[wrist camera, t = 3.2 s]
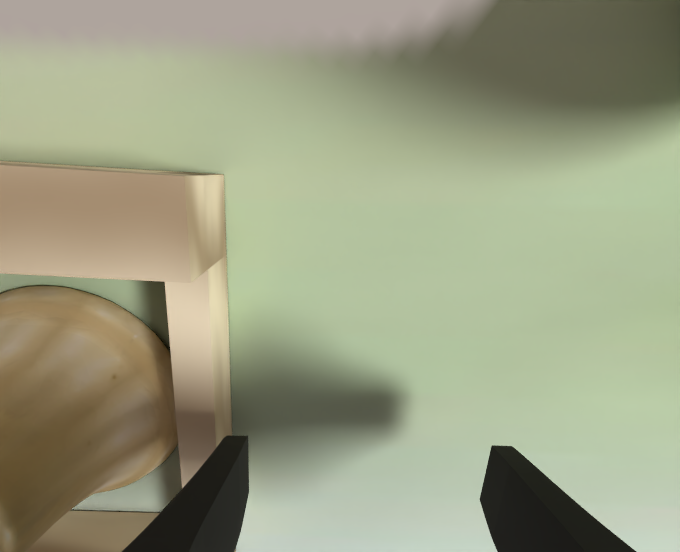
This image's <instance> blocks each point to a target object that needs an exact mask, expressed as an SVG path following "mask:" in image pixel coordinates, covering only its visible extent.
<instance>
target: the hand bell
mask: <svg viewBox="0 0 680 552" xmlns="http://www.w3.org/2000/svg"><path fill="white" fill-rule="evenodd" d="M177 444H178V435H177V423H176V411H175V399H174V387H173V375H172V364H171V354H170V352H169V351H168V349H167V348H166V346H165V345H164V344H163V342H162V341H161V340H160V339H159V337H158V336H157V335H156V334H155V333H154V332H153V331H152V330H151V329H149V327H148V326H147V325H146V324H145V323H144V322H142V321H141V320H140V319H138V318H137V317H136V316H134V315H133V314H131V313H130V312H128V311H126V310H125V309H123V308H122V307H120V306H119V305H117V304H115V303H113V302H111V301H108V300H106V299H104V298H101V297H99V296H96V295H93V294H90V293H87V292H84V291H80V290H76V289H72V288H66V287H58V286H32V287H24V288H18V289H14V290H10V291H7V292H4V293H2V294H0V552H26V551H27V550H28V549H29V548H30V547H31V546H32V545H33V544H34V543H35V542H36V541H37V540H38V539H39V538H40V537H41V536H42V535H43V534H44V533H45V532H46V531H47V530H48V529H49V528H50V527H51V526H52V525H53V524H54V523H56V522H57V521H58V520H59V519H60V518H61V517H63V516H64V515H65V514H66V513H67V512H68V511H70V510H71V509H72V508H73V507H75V506H76V505H77V504H78V503H80V502H81V501H83V500H84V499H86V498H87V497H89V496H90V495H93V494H95V493H100V492H105V491H110V490H114V489H117V488H121V487H123V486H126V485H129V484H131V483H133V482H135V481H137V480H139V479H140V478H142V477H144V476H145V475H147V474H148V473H150V472H152V471H153V470H154V469H156V468H157V467H158V466H159V465H161V464H162V463H163V462H164V461H165V460H166V459H167V458H168V456H169V455H170V454H171V453H172V452H173V450H174V449H175V447H176V446H177Z"/></svg>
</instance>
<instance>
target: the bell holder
mask: <svg viewBox="0 0 680 552" xmlns="http://www.w3.org/2000/svg"><path fill="white" fill-rule="evenodd" d="M0 273H4V274H24V275H43V276H63V277H83V278H102V279H122V280H142V281H162V282H165V292H166V304H167V316H168V328H169V340H170V352H171V364H172V375H173V387H174V399H175V411H176V423H177V435H178V447H179V459H180V470H181V482H182V488H183V487H184V486H185V485H186V484H187V483H188V481H189V480H190V479H191V478H192V477H193V476H194V475H195V473H196V472H197V471H198V470H199V469H200V467H201V466H202V465H203V464H204V462H205V461H206V460H207V459H208V457H209V456H210V455H211V454H212V452H213V451H214V450H215V449H216V447H217V446H218V445H219V443H220V442H221V441H222V439H223V438H224V437H226V436H227V435H231V436H232V414H231V382H230V351H229V319H228V288H227V256H226V225H225V194H224V174H207V173H191V172H175V171H158V170H142V169H126V168H109V167H93V166H77V165H60V164H44V163H27V162H11V161H0ZM158 515H159V513H139V512H104V511H68V512H67V513H66V514H65V515H64V516H63V517H61V518H60V519H59V520H58V521H57V522H56V523H54V524H53V525H52V526H51V527H50V528H49V529H48V530H47V531H46V532H45V533H44V534H43V535H42V536H41V537H40V538H39V539H38V540H37V541H36V542H35V543H34V544H33V545H32V546H31V547H30V548H29V549H28V550H27V551H26V552H122V551H123V550H124V549H125V548H126V547H127V546H128V545H129V544H130V543H131V542H132V541H133V540H134V539H135V538H136V537H137V536H138V535H139V534H140V533H141V532H142V531H143V530H144V529H145V528H146V527H147V526H148V525H149V524H150V523H151V522H152V521H153V520H154V519H155V518H156V517H157V516H158ZM234 552H236V548H235V551H234Z"/></svg>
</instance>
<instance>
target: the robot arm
mask: <svg viewBox="0 0 680 552" xmlns="http://www.w3.org/2000/svg"><path fill="white" fill-rule="evenodd" d="M248 493H249V467H248V436H231V435H227V436H226V437H224V438H223V439H222V441H221V442H220V443H219V445H218V446H217V447H216V449H215V450H214V451H213V452H212V454H211V455H210V456H209V457H208V459H207V460H206V461H205V462H204V464H203V465H202V466H201V467H200V469H199V470H198V471H197V472H196V473H195V475H194V476H193V477H192V478H191V479H190V480H189V481H188V483H187V484H186V485H185V486H184V487H183V488H182V490H181V491H180V492H179V493H178V494H177V495H176V496H175V497H174V499H173V500H172V501H171V502H170V503H169V504H168V505H167V506H166V507H165V508H164V509H163V510H162V511H161V512H160V513H159V515H158V516H157V517H156V518H155V519H154V520H153V521H152V522H151V523H150V524H149V525H148V526H147V527H146V528H145V529H144V530H143V531H142V532H141V533H140V534H139V535H138V536H137V537H136V538H135V539H134V540H133V541H132V542H131V543H130V544H129V545H128V546H127V547H126V548H125V549H124V550H123V551H122V552H234V551H235V548H236V545H237V542H238V538H239V535H240V532H241V527H242V522H243V518H244V513H245V508H246V503H247V498H248ZM480 502H481V505H482V508H483V512H484V515H485V518H486V521H487V524H488V527H489V531H490V534H491V537H492V539H493V542H494V544H495V546H496V549H497V551H498V552H636V551H635V550H634V549H632V548H631V547H630V546H628V545H627V544H626V543H625V542H623V541H622V540H621V539H620V538H618V537H617V536H616V535H615V534H613V533H612V532H611V531H610V530H608V529H607V528H606V527H605V526H603V525H602V524H601V523H600V522H599V521H597V520H596V519H595V518H594V517H593V516H591V515H590V514H589V513H588V512H587V511H586V510H584V509H583V508H582V507H581V506H580V505H578V504H577V503H576V502H575V501H574V500H573V499H572V498H570V497H569V496H568V495H567V494H566V493H565V492H564V491H562V490H561V489H560V488H559V487H558V486H557V485H556V484H554V483H553V482H552V481H551V480H550V479H549V478H548V477H547V476H545V475H544V474H543V473H542V472H541V471H540V470H539V469H538V468H537V467H535V466H534V465H533V464H532V463H531V462H530V461H529V460H527V459H526V458H525V457H524V456H523V455H522V454H521V453H519V452H518V451H517V450H516V449H515V448H513V447H512V446H492V447H491V451H490V456H489V460H488V465H487V469H486V474H485V478H484V483H483V487H482V492H481V496H480Z"/></svg>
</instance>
